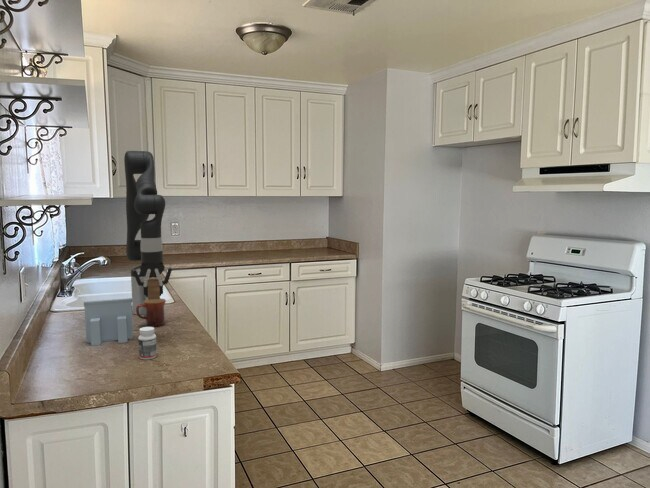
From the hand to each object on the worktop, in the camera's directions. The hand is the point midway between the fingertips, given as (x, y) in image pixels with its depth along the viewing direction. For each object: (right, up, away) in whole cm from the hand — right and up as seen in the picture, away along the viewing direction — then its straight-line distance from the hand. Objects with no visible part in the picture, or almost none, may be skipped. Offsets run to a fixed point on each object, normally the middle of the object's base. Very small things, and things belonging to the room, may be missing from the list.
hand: (153, 295), depth 182 cm
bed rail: (-1, 0, +3) cm, 3 cm away
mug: (-8, -15, +22) cm, 28 cm away
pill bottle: (+3, -19, -15) cm, 24 cm away
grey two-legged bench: (-17, -17, +1) cm, 24 cm away
